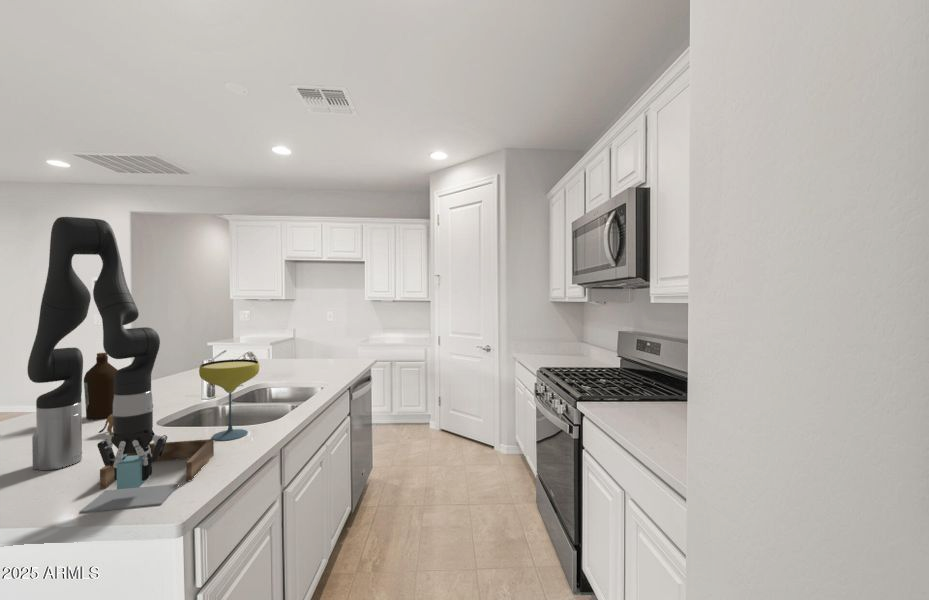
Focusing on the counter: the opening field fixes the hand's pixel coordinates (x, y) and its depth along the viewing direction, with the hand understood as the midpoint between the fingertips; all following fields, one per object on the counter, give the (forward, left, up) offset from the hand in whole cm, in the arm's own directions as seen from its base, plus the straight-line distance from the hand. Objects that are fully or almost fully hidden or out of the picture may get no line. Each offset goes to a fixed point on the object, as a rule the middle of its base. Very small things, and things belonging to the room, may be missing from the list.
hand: (133, 479), depth 100 cm
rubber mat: (0, 0, -4) cm, 4 cm away
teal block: (0, 0, -1) cm, 1 cm away
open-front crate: (0, +15, -4) cm, 15 cm away
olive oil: (-44, +75, -5) cm, 87 cm away
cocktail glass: (+10, +42, -5) cm, 43 cm away
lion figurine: (-26, +53, -5) cm, 59 cm away
